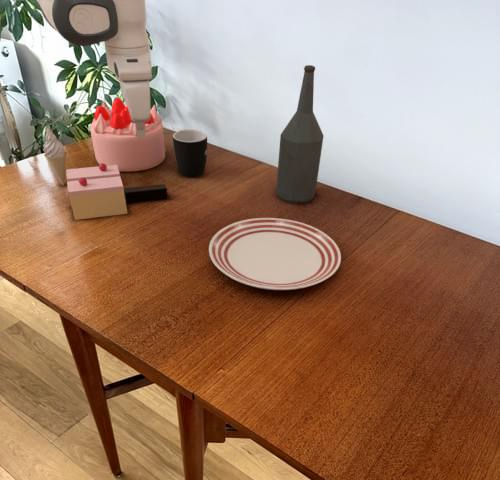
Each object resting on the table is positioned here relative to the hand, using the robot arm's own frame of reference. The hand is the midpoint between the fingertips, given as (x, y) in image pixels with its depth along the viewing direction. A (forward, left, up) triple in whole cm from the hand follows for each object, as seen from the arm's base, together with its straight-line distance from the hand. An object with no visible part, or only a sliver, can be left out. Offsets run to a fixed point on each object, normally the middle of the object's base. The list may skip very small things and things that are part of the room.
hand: (137, 129), depth 104 cm
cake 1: (-12, 0, -17) cm, 21 cm away
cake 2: (-1, +26, -17) cm, 31 cm away
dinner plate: (+21, -34, -17) cm, 44 cm away
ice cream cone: (-20, +13, -17) cm, 29 cm away
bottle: (+37, -7, -17) cm, 42 cm away
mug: (+14, +14, -17) cm, 27 cm away
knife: (-6, 0, -17) cm, 18 cm away
